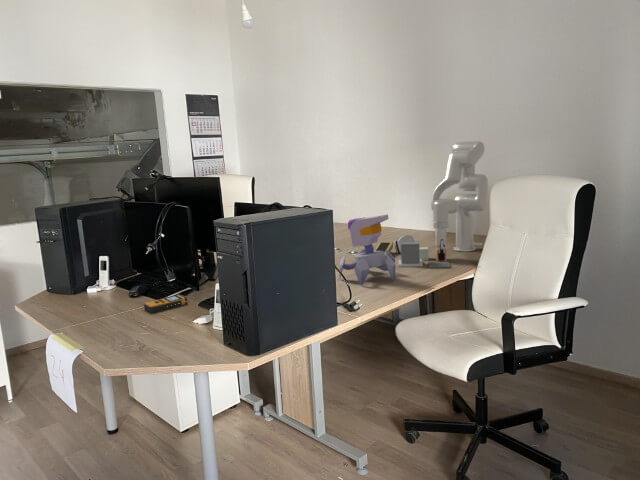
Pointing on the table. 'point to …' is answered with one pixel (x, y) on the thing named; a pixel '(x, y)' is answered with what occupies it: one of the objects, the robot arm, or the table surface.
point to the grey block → (423, 253)
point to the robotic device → (368, 248)
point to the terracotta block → (438, 252)
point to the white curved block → (402, 239)
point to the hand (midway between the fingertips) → (441, 258)
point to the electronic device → (165, 303)
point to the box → (384, 247)
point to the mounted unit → (410, 255)
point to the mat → (439, 264)
